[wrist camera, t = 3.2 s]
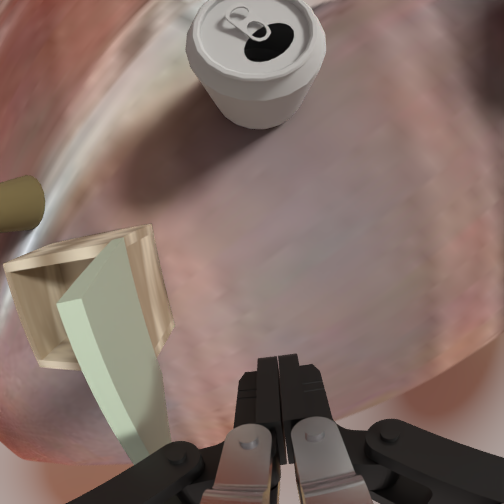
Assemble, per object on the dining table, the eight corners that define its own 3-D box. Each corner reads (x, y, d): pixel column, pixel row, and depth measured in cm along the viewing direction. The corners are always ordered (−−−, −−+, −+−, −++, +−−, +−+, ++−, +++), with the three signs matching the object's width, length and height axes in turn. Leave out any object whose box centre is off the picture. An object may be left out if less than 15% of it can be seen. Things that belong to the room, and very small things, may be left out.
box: (78, 330, 29) (39, 367, 21) (53, 243, 27) (2, 263, 19) (174, 325, 28) (148, 373, 21) (151, 223, 26) (110, 242, 18)
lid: (167, 510, 9) (184, 507, 9) (56, 303, 7) (81, 298, 7) (152, 376, 20) (162, 374, 21) (111, 239, 18) (123, 237, 18)
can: (257, 149, 24) (252, 124, 13) (196, 91, 23) (147, 33, 12) (321, 92, 23) (363, 34, 11) (259, 37, 22) (256, -45, 10)
